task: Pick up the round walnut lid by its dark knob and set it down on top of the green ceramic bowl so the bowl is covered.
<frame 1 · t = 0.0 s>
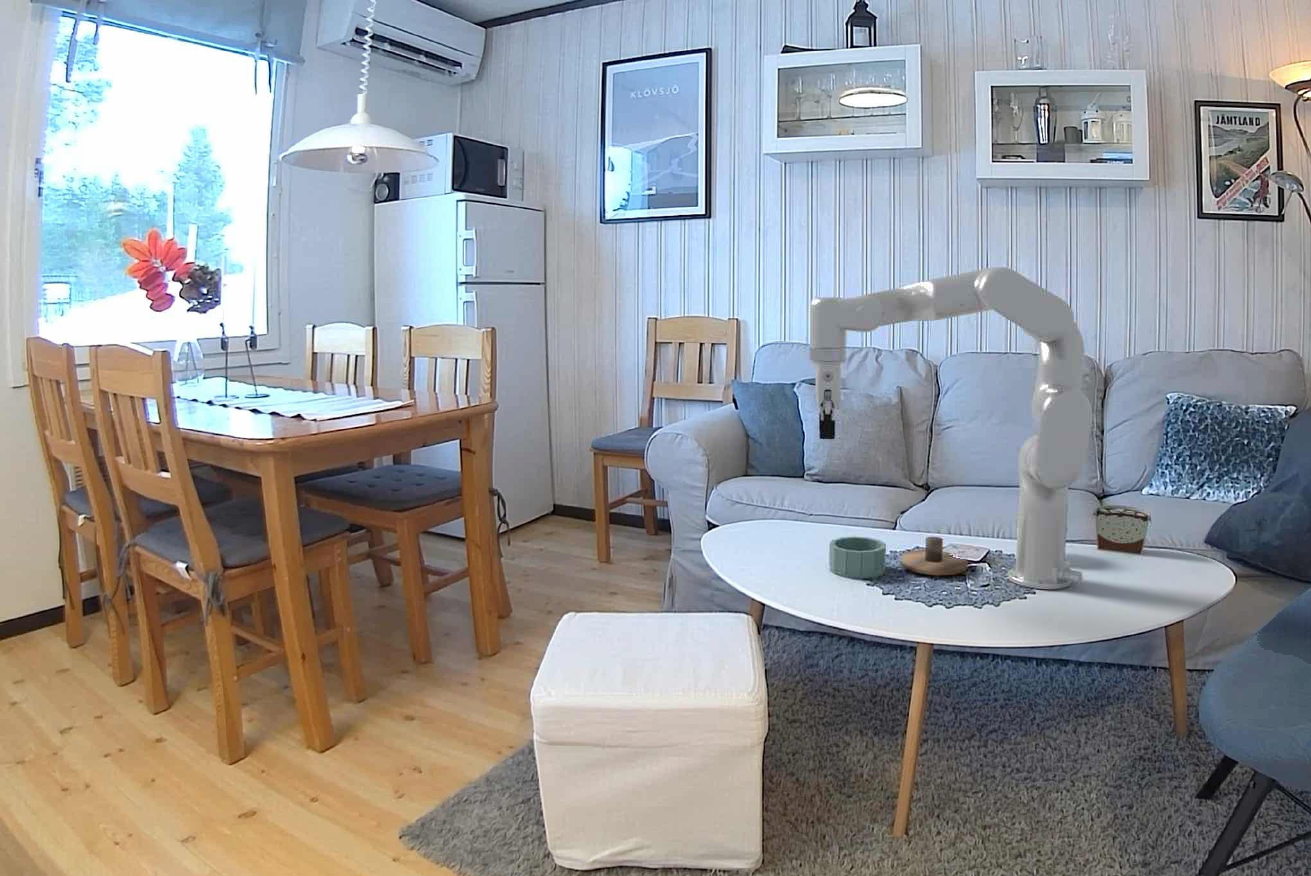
hand: (826, 434, 198), 31 cm above the table, tool pointing down, fingers open, 9 cm apart
food container: (1120, 550, 216), on the table
lid: (933, 569, 205), on the table
lidded jar: (1040, 557, 212), on the table
bowl: (857, 570, 205), on the table
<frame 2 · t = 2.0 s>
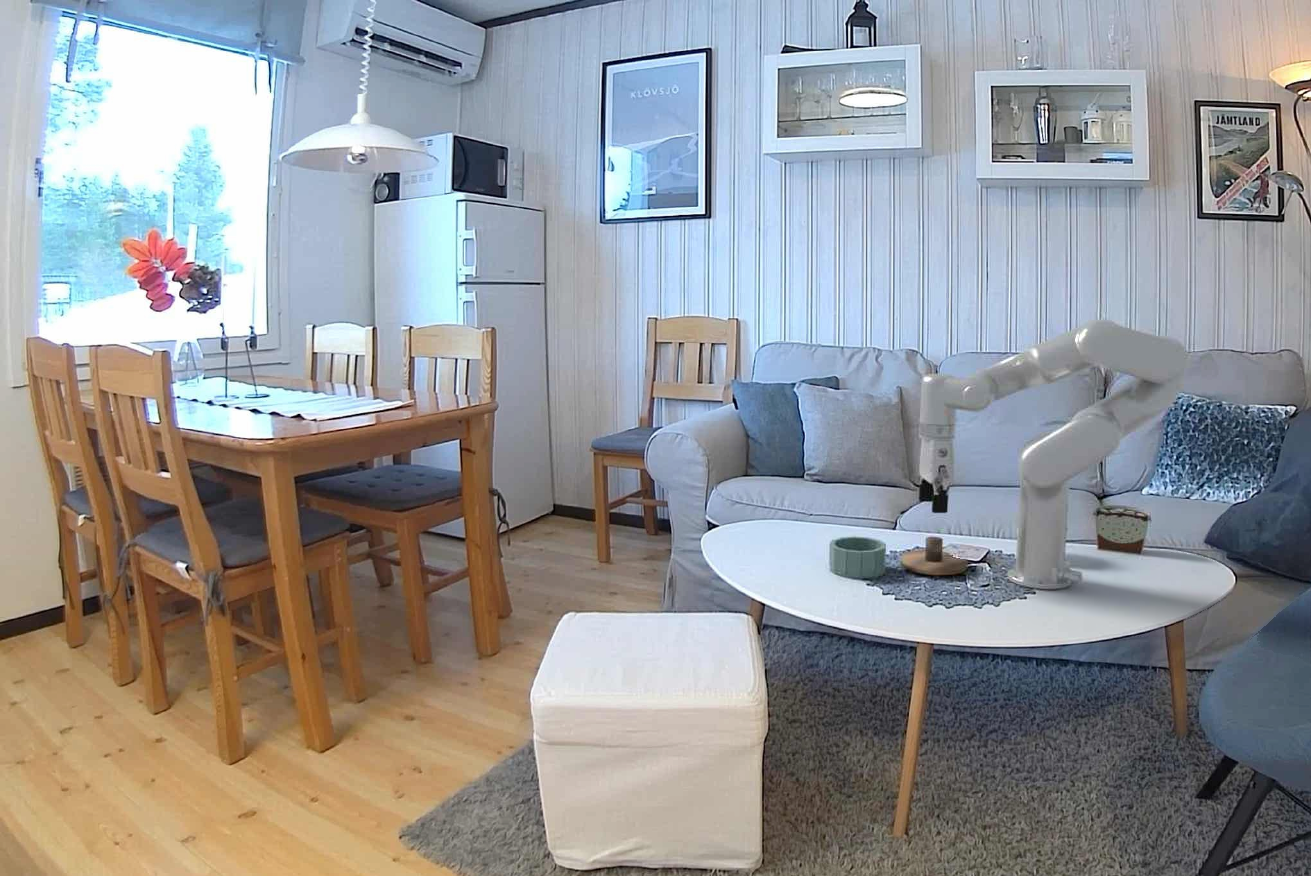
hand: (932, 506, 203), 14 cm above the table, tool pointing down, fingers open, 9 cm apart
nothing on the table moved.
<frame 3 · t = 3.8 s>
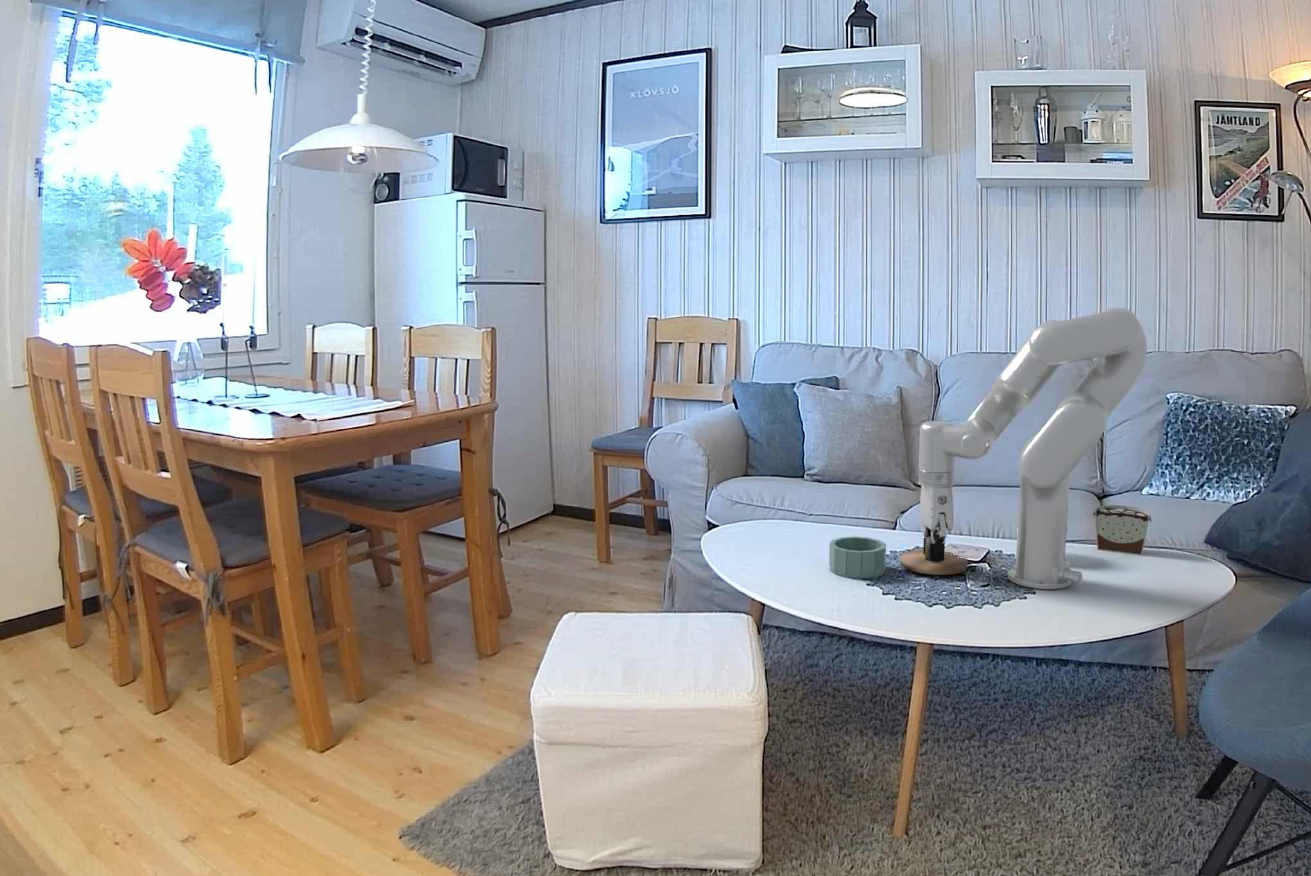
hand: (933, 556, 204), 3 cm above the table, tool pointing down, fingers closed on lid, 3 cm apart
lid: (933, 568, 205), on the table, touching gripper
everything else where it was.
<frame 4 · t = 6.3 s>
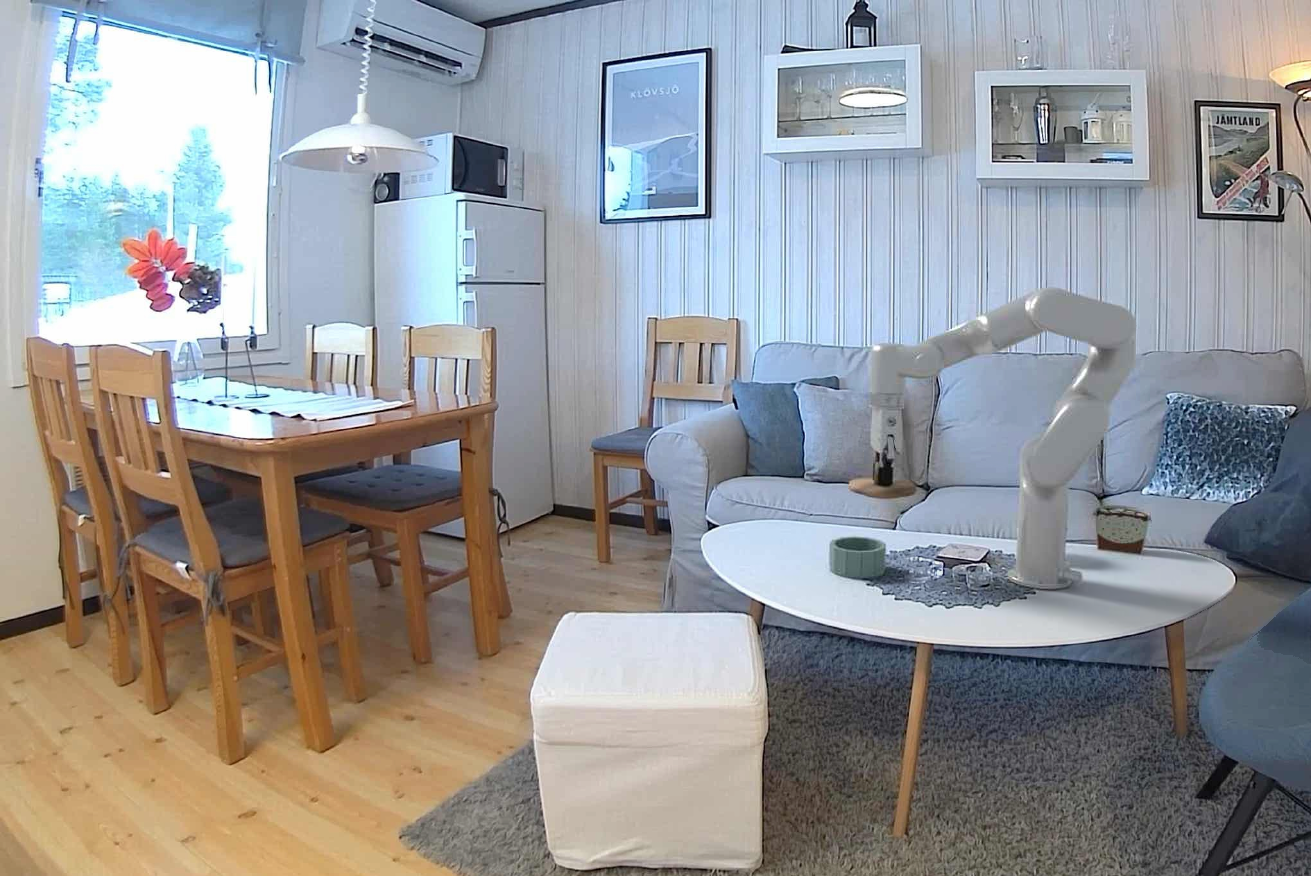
hand: (882, 482, 202), 20 cm above the table, tool pointing down, fingers closed on lid, 3 cm apart
lid: (881, 494, 202), point 17 cm above the table, touching gripper
everything else where it was.
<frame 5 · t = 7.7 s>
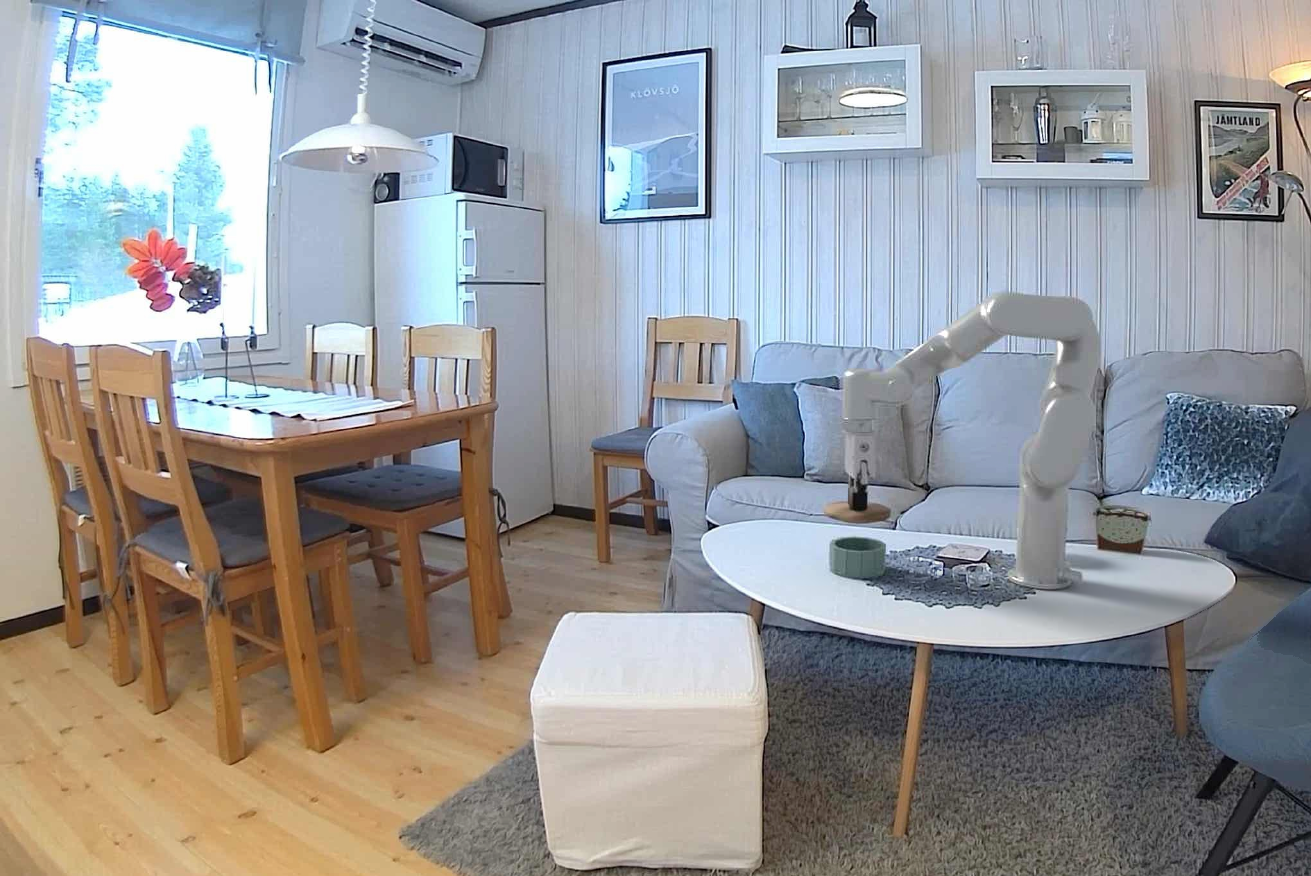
hand: (857, 506, 203), 15 cm above the table, tool pointing down, fingers closed on lid, 3 cm apart
lid: (856, 518, 203), point 12 cm above the table, touching gripper
everything else where it was.
when the fingers open (9 cm above the table, at t = 8.9 s): lid drops 1 cm, resting on bowl.
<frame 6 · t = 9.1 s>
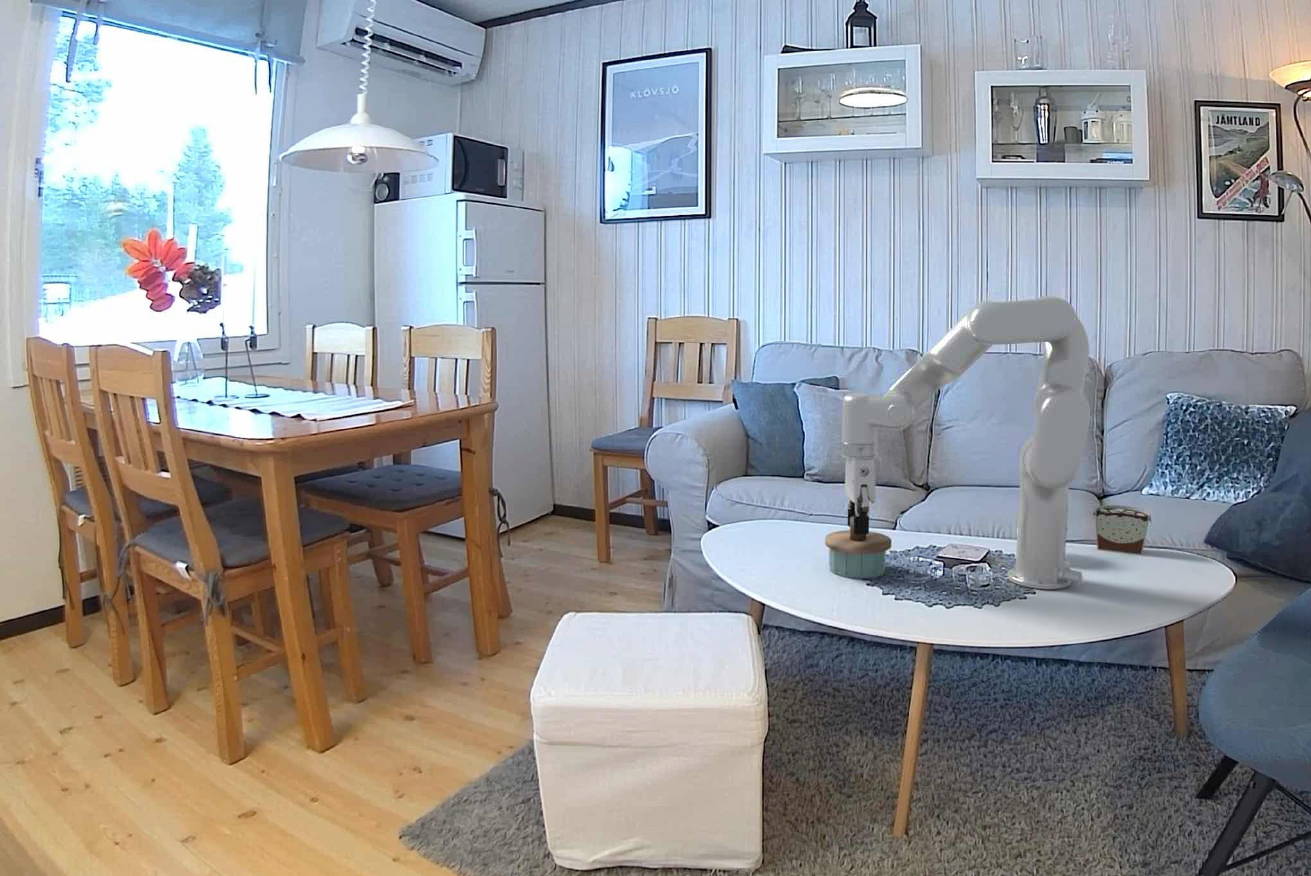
hand: (858, 529, 203), 9 cm above the table, tool pointing down, fingers open, 5 cm apart
lid: (857, 548, 204), point 5 cm above the table, touching bowl
everything else where it was.
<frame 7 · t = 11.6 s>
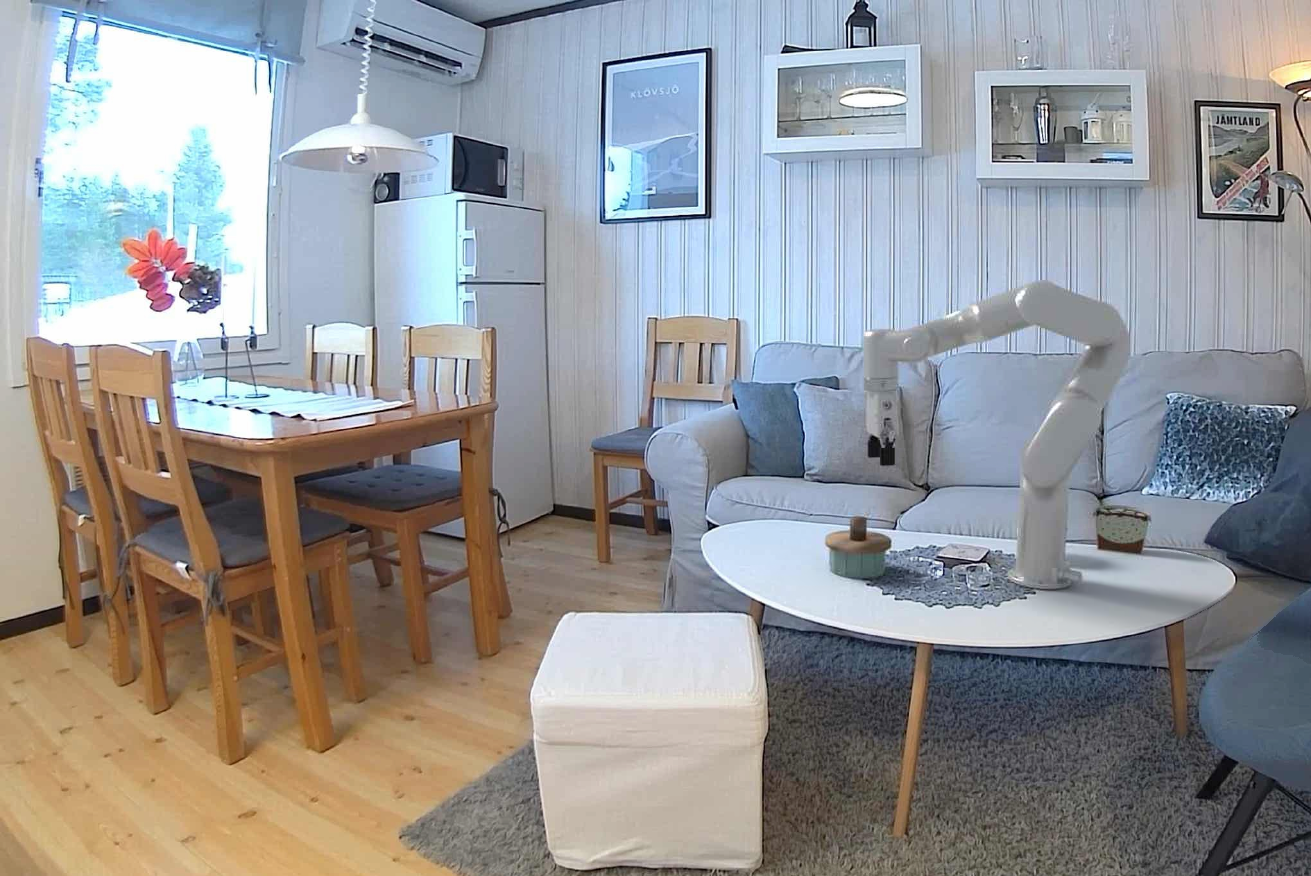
hand: (881, 461, 205), 24 cm above the table, tool pointing down, fingers open, 9 cm apart
nothing on the table moved.
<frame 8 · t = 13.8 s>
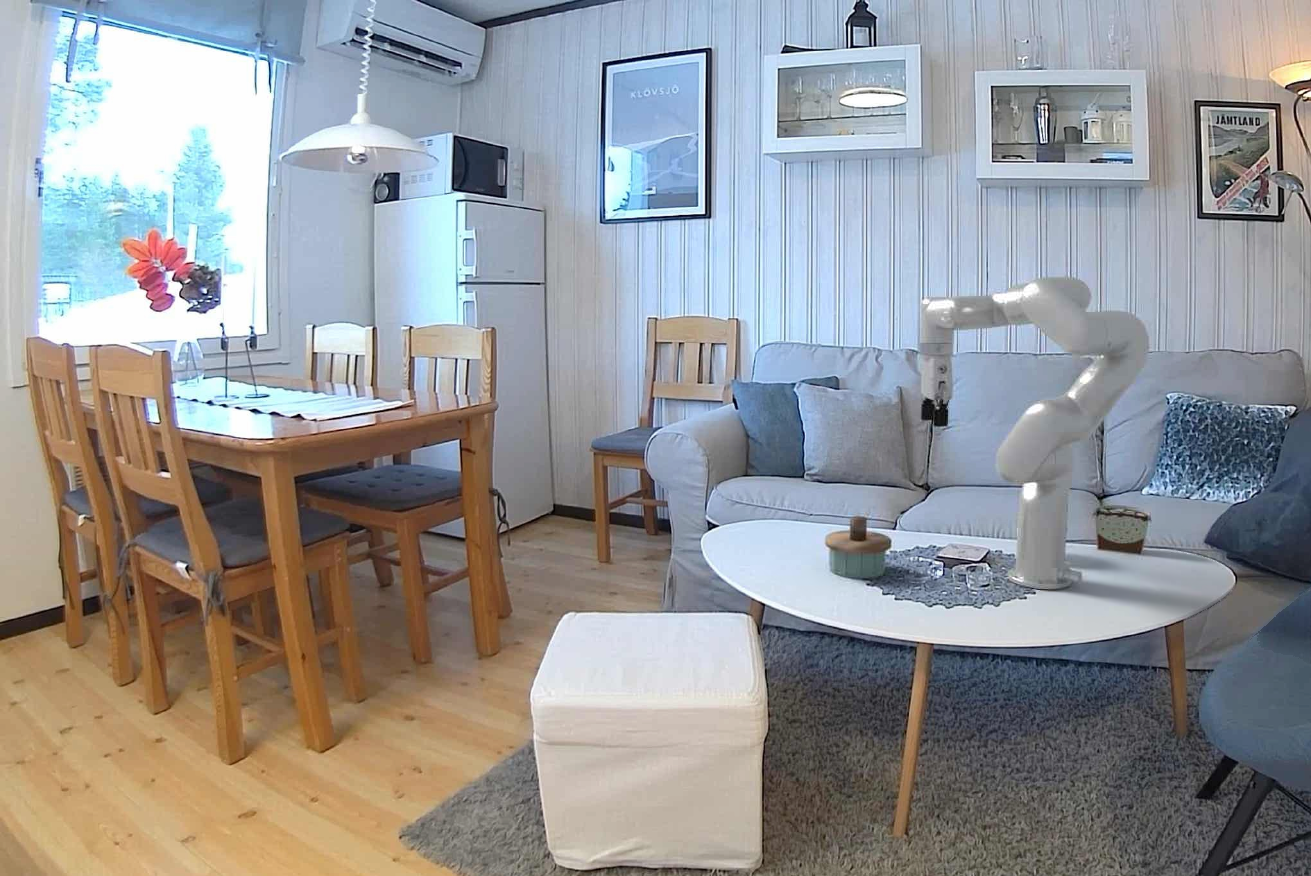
hand: (934, 423, 216), 30 cm above the table, tool pointing down, fingers open, 9 cm apart
nothing on the table moved.
at the end: lid 0.1 cm off-centre on the bowl, point 5.0 cm above the bowl's base; lid tilted 0°; the gripper is holding nothing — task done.
